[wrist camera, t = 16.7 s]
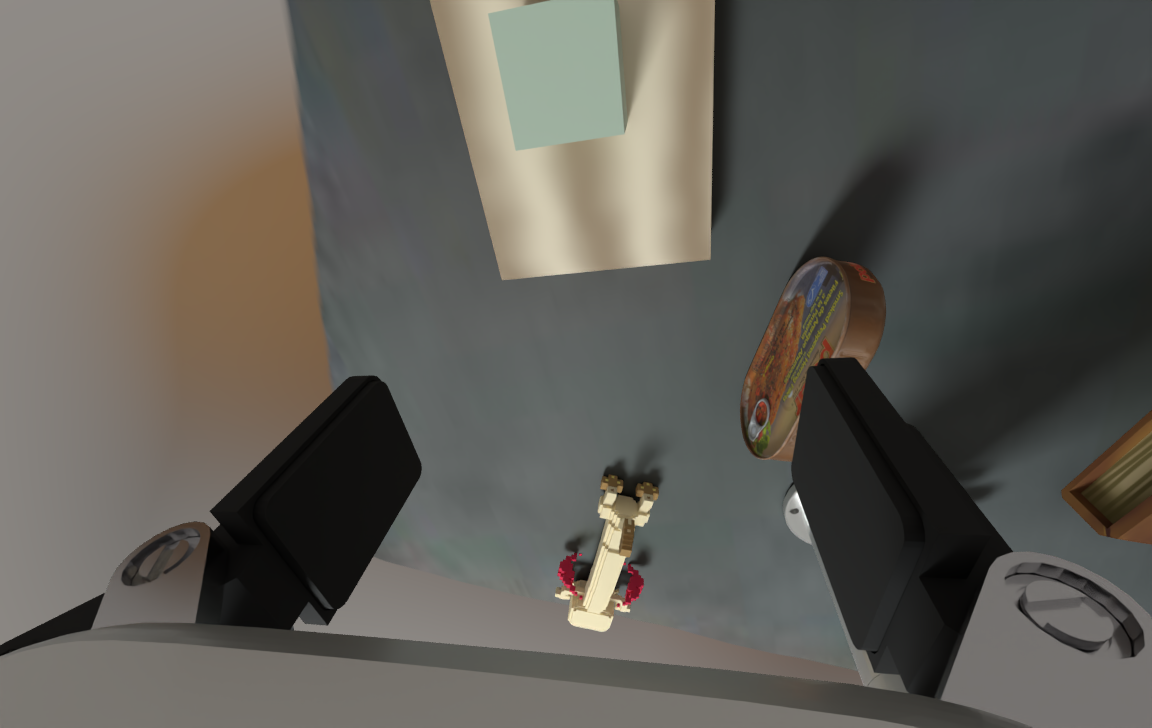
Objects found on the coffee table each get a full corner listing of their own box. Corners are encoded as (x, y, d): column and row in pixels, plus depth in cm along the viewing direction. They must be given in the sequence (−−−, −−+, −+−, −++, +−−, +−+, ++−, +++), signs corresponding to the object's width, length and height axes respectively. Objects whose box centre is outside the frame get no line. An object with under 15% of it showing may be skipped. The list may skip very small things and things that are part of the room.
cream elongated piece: (583, 459, 45) (550, 598, 58) (574, 527, 38) (538, 670, 50) (677, 478, 45) (623, 614, 58) (686, 550, 38) (622, 688, 50)
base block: (709, -264, 18) (720, -317, 16) (704, 244, 30) (710, 259, 28) (408, -171, 21) (377, -203, 18) (512, 264, 33) (502, 280, 30)
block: (619, 6, 21) (613, -14, 16) (627, 121, 24) (624, 134, 19) (521, 26, 22) (487, 13, 17) (540, 135, 25) (515, 150, 20)
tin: (806, 237, 29) (858, 289, 22) (853, 246, 29) (920, 300, 22) (730, 407, 38) (751, 482, 31) (766, 413, 38) (795, 490, 31)
